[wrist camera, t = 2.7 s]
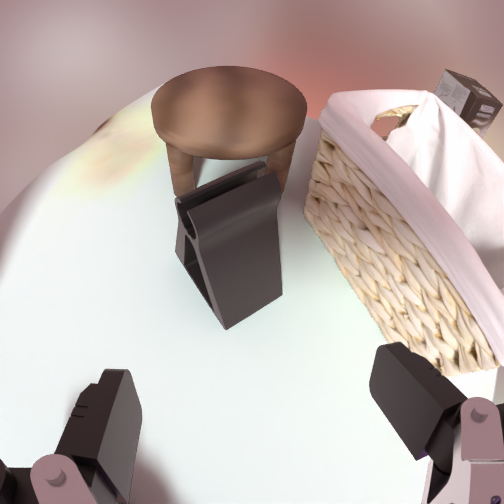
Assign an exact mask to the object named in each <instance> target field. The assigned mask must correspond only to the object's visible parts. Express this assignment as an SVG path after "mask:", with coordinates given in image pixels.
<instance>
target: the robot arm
mask: <svg viewBox="0 0 504 504" xmlns="http://www.w3.org/2000/svg"><path fill="white" fill-rule="evenodd" d="M369 388H370V393H371V395H372V397H373V399H374V400H375V402H376V403H377V404H378V406H379V407H380V409H381V410H382V412H383V413H384V415H385V416H386V417H387V419H388V420H389V422H390V423H391V425H392V426H393V428H394V429H395V430H396V432H397V433H398V435H399V436H400V438H401V439H402V441H403V442H404V444H405V445H406V446H407V448H408V449H409V451H410V452H411V454H412V455H413V457H414V458H415V460H416V461H417V460H419V459H421V458H423V457H425V456H427V455H429V456H430V457H431V460H430V462H429V464H428V470H427V476H426V482H425V487H424V492H423V497H422V502H421V504H504V403H503V404H499V405H495V404H494V403H493V402H491V401H490V400H488V399H485V398H481V397H473V398H469V399H468V398H467V397H466V396H465V395H464V394H463V393H462V392H461V391H460V390H459V389H458V388H456V387H455V386H454V385H453V384H452V383H451V382H450V381H449V380H448V379H447V378H446V377H445V376H444V375H442V373H441V372H440V371H439V370H438V369H437V368H435V366H434V365H433V364H432V363H430V362H429V361H428V360H427V359H426V358H425V357H423V356H421V355H419V354H417V353H415V352H411V351H410V350H409V349H408V348H407V347H406V346H405V345H404V344H403V343H402V342H399V341H398V342H394V343H390V344H385V345H381V346H379V347H378V349H377V351H376V355H375V360H374V364H373V369H372V373H371V377H370V381H369ZM75 406H76V407H74V409H73V411H72V413H71V417H70V418H69V420H68V422H67V425H66V427H65V429H64V432H63V434H62V436H61V439H60V441H59V444H58V446H57V448H56V451H55V453H54V454H50V455H46V456H44V457H42V458H40V459H39V460H37V461H36V462H35V463H34V465H33V467H32V468H8V467H7V466H6V465H5V464H4V463H3V461H2V460H1V459H0V504H116V502H121V503H129V496H130V488H131V482H132V475H133V469H134V463H135V457H136V451H137V445H138V440H139V435H140V429H141V424H142V409H141V405H140V401H139V398H138V395H137V392H136V389H135V386H134V383H133V379H132V376H131V373H130V371H129V370H127V369H105V370H104V371H103V373H102V375H101V378H100V380H99V382H98V384H92V383H91V384H90V385H89V386H88V387H87V388H86V389H85V390H84V391H83V392H81V394H80V396H79V398H78V400H77V402H76V404H75Z"/></svg>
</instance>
